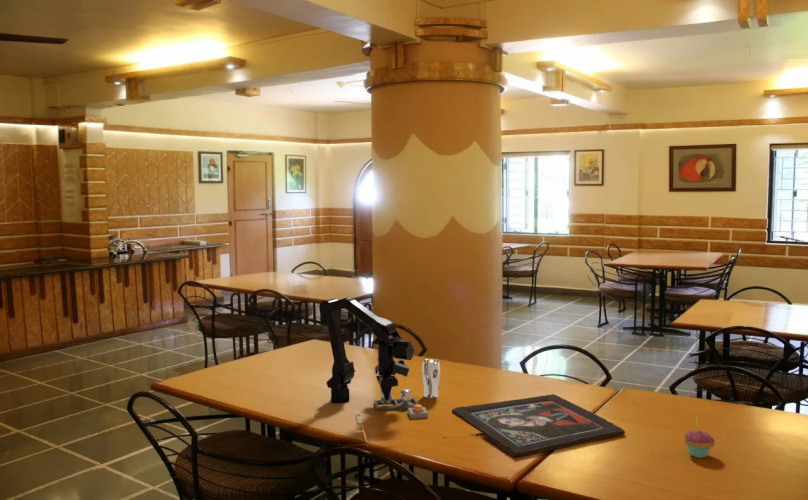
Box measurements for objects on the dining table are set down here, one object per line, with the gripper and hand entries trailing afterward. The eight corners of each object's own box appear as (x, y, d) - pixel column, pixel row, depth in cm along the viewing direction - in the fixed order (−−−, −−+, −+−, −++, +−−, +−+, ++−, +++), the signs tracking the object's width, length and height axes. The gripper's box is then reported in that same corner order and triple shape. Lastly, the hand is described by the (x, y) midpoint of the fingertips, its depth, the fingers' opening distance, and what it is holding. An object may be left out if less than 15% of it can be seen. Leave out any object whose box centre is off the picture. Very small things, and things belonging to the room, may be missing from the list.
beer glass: (438, 402, 240) (438, 363, 239) (420, 401, 242) (420, 363, 240) (441, 396, 247) (441, 359, 246) (423, 395, 249) (423, 358, 247)
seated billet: (401, 408, 231) (401, 392, 231) (399, 404, 235) (399, 389, 235) (412, 407, 232) (412, 391, 232) (410, 404, 236) (410, 388, 235)
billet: (392, 403, 231) (392, 387, 230) (381, 403, 230) (381, 387, 230) (391, 399, 235) (390, 383, 234) (380, 400, 234) (380, 384, 233)
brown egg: (414, 418, 222) (414, 407, 221) (412, 415, 225) (412, 404, 224) (422, 418, 222) (422, 407, 222) (421, 415, 225) (421, 404, 225)
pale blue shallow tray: (357, 427, 216) (357, 423, 216) (355, 417, 225) (355, 414, 225) (390, 424, 218) (390, 421, 218) (386, 415, 227) (386, 412, 227)
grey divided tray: (376, 414, 228) (376, 407, 228) (374, 407, 236) (374, 400, 236) (418, 411, 231) (418, 405, 230) (414, 404, 238) (414, 397, 238)
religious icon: (448, 416, 226) (448, 408, 226) (552, 400, 244) (552, 392, 244) (510, 461, 189) (511, 451, 189) (627, 438, 208) (627, 429, 207)
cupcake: (677, 449, 196) (679, 411, 195) (704, 448, 197) (705, 410, 196) (692, 461, 187) (694, 421, 186) (720, 459, 188) (721, 420, 187)
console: (411, 422, 220) (411, 413, 220) (408, 416, 226) (408, 407, 226) (428, 421, 221) (427, 412, 221) (424, 415, 227) (424, 406, 227)
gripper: (412, 362, 223) (412, 405, 224) (403, 349, 241) (403, 389, 243) (380, 364, 221) (381, 407, 223) (374, 350, 239) (374, 390, 241)
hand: (386, 398), depth 232 cm, fingers closed on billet, 4 cm apart
